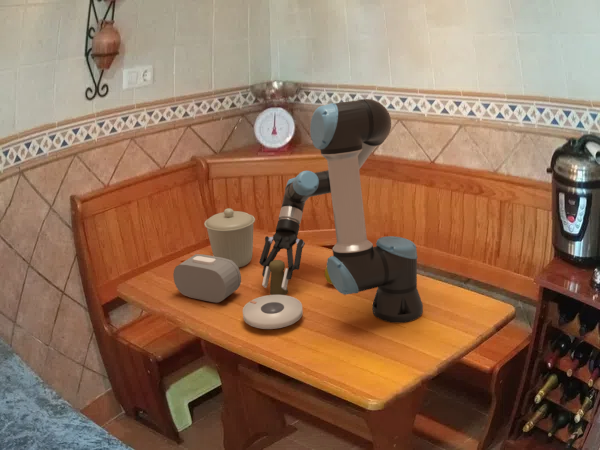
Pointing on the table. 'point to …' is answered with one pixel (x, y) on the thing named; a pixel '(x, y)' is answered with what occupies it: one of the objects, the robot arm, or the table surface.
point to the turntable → (272, 311)
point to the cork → (277, 277)
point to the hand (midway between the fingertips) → (274, 287)
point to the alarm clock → (207, 277)
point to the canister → (231, 235)
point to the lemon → (327, 276)
